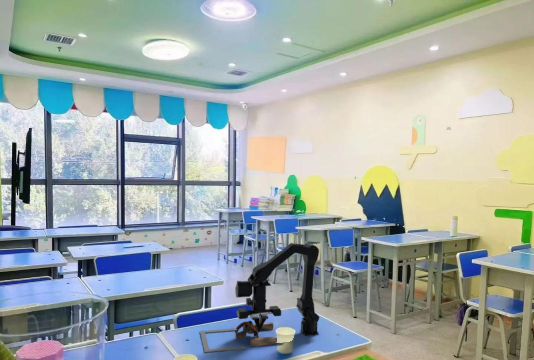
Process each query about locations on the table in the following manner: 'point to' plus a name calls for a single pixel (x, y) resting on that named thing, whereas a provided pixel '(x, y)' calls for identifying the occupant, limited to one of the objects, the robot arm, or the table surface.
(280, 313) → the robot arm
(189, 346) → the table surface
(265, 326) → the holder
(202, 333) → the bay
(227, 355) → the table surface
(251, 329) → the brown curved piece
